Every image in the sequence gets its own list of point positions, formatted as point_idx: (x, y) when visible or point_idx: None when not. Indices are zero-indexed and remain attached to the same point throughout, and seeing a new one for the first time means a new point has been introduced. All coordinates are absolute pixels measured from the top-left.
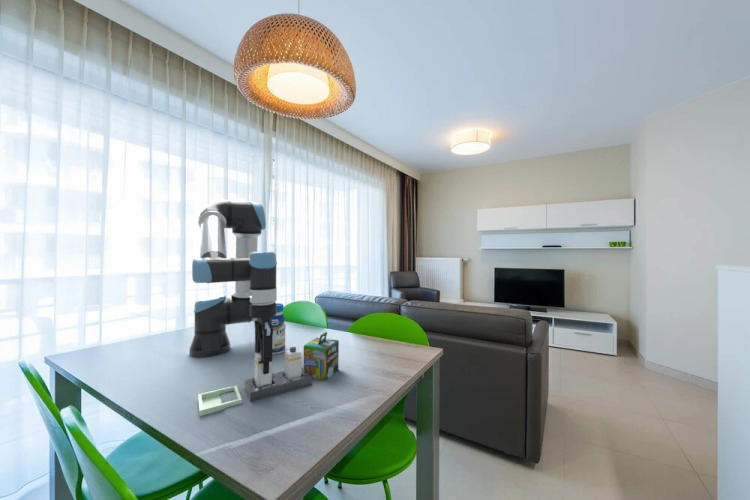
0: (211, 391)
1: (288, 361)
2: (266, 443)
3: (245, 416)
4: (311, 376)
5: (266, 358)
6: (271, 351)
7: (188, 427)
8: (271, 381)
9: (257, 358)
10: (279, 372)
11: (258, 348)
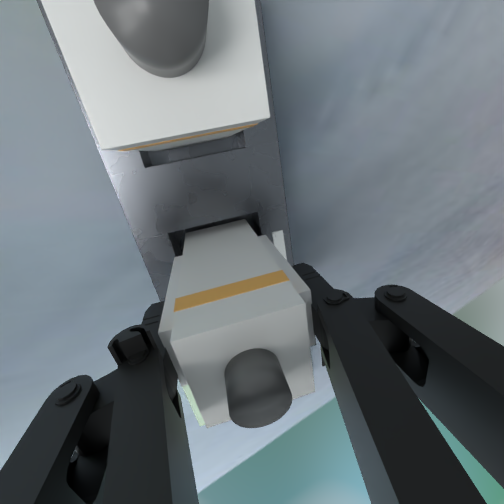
0: (192, 402)
1: (249, 126)
2: (470, 225)
3: (337, 282)
4: None
5: (411, 340)
6: (495, 349)
7: (318, 382)
8: (252, 229)
9: (306, 387)
10: (115, 181)
11: (187, 456)
